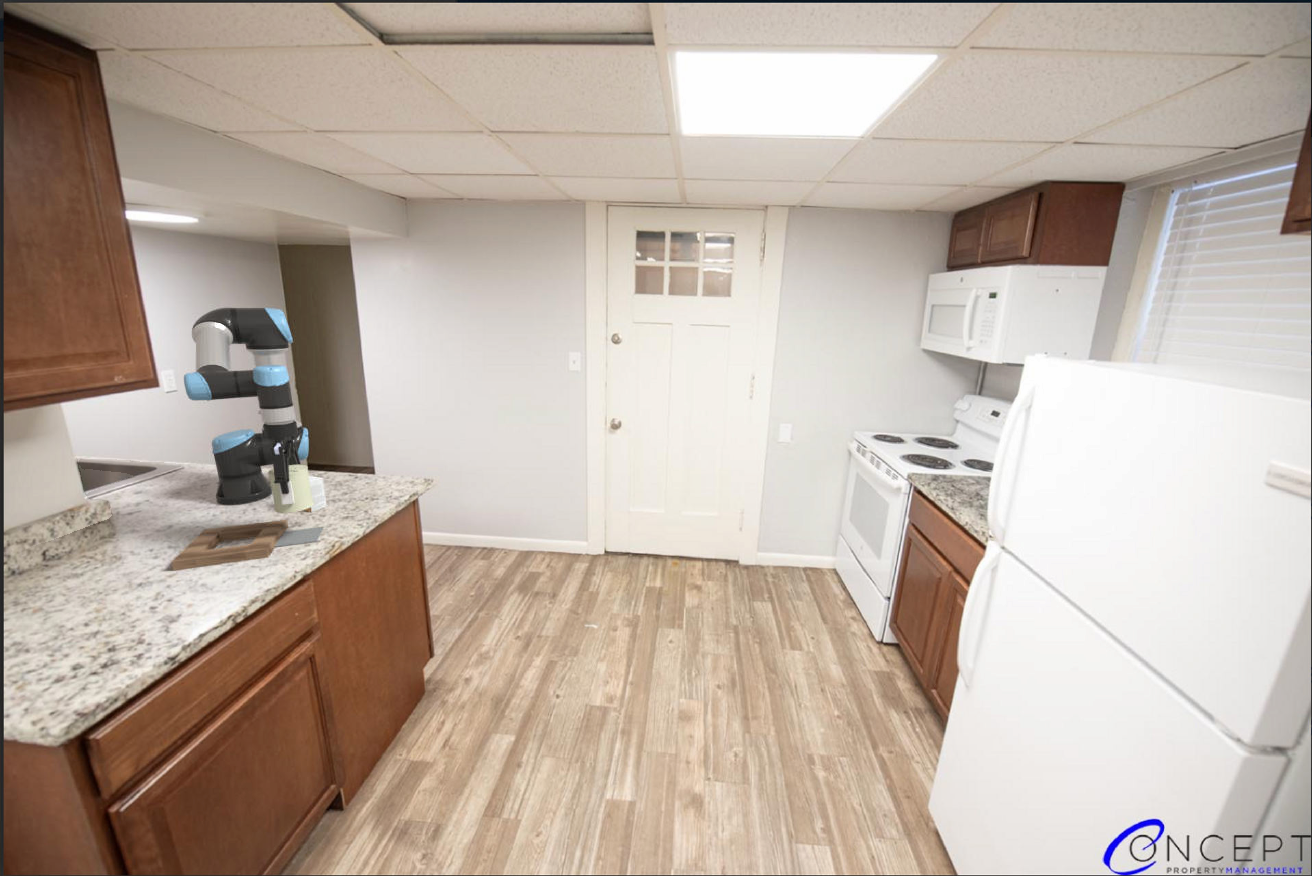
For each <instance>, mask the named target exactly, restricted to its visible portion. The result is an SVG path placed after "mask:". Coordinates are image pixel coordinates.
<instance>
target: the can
mask: <svg viewBox="0 0 1312 876" xmlns="http://www.w3.org/2000/svg"><path fill="white" fill-rule="evenodd" d="M267 474H268V477H269V484H270V486H271V489H272V497H273V503H274V511H275V512H276V513H278V514H292V513H293V514H294V513H298V512H302V511H305V509H308V508H310V507H312V506H313V505H314V502H313V499H312V494H311V488H310V482H309V476H310V475H309V471H308V466H307V465H305V464H301V465H289V481H291V484H292V490H293V495H294V501H295V503H293V504H284V505H282V499H281V494H280V489H279V483H274V481H275V476H274V468H272V469H270V470H269V471H268V472H267ZM308 475H309V476H308Z"/></svg>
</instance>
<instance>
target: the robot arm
mask: <svg viewBox="0 0 1312 876" xmlns="http://www.w3.org/2000/svg"><path fill="white" fill-rule="evenodd" d="M191 338H192V340H193V342H194V343H195V371H194V372H187V373H185V374H184V376H183V382H184V383H183V384H184V389H185V393H186V395H187V397H188V399H189V400H191V401H207V402H209V401H214V400H215V401H216V400H227V399H228V400H229V399H238V398H239V399H241V398H242V399H243V398H257V400H258V407H259V410H258V412H257V413H258V415H261V416H260V417H261V421H262V423H263V424H262V427H261V432H258V433H256V432H255V431H254V429H250V428H248V429H238V430H233V431H230V432H226V433H223V434H220V435H218V436H216V437H214V438H213V439H212V440H211V447H212V448H211V449H212V452H211V453H212V455H213V458H214V461H215V467H216V470H217V471H216V472H217V476H218V483H217V488H216V493H215V498H216V503H217V504H219V505H223V506H234V505H235V506H236V505H242V504H243V505H244V504H249V503H250V504H251V503H254V502H257V501H261V500H263V499H266V498H268V497H269V496H271V495H273V493H272V488H271V483H270V482H269V481H268V480H267V478H266V477H265V475H264V474H263V470H262V467H265V466H272V467H273V469H274V476H275V481H274V483H279V489H280V494H281V499H282V505H284V504H293V503H295V501H294V495H293V490H292V484H291V481H289V465H302V463H301V461H304V460H306V459H307V458H308V456H309V443H310V442H309V440H310V439H309V430H308V428H306V427H303V424H302V422H300V421H299V420H297V417H296V412H295V406H294V401H293V395H292V388H291V384H290V375H289V371H288V366H287V360H286V352H287V351H288V350H289V349H290V347H289V346H290V345H289V344H292V343H294V340H293V336H292V333H291V330H290V326H289V324H288V321H287V318H286V315H285V313H284V311H283V310H282V309H279V308H272V307H221V308H220V307H219V308H216V309H213V310H210V311H208V312H207V313H204V314H203V315H202V316H200V317H199V318H198V319H197V320H195V322H194V324H193V325H192V328H191ZM231 345H245V349H246V351H248V352H249V353H251V354H252V355H253V362H254V365H255V366H254V368H253V369H250V370H248V369H247V370H232V360H231V351H230V346H231Z"/></svg>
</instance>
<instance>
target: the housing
mask: <svg viewBox="0 0 1312 876" xmlns="http://www.w3.org/2000/svg"><path fill="white" fill-rule="evenodd" d="M288 529H289V524H288V520H287V519H282V520H281V519H280V520H275V521H274V520H273V521H266V522H265V521H263V522H256V523H249V524H239V525H231V526H223V527H214V528H206V529H204V530H202V531H201V532H200V533H199V534H198V535H196V537H195V538H194V539H193V540H192V541H190V543H189V544H188V545H187V546H186V547H185V548H184V549H183V550H182V551H181V552H180V553H179V554H178V555H176V557H175V558H174V559H173V560H172V561H171V565H172V566H171V567H172V571H175V572H176V571H182V570H188V569H190V570H191V569H195V568H196V569H197V568H203V567H208V566H217V565H223V564H231V563H238V562H245V561H251V560H252V561H253V560H258V559H266V558H269V557H270V556H271V554H272V552H273V551H274V549H276V547H275V545H276V543H277V542H278V540H279V539H280V537H281V536H282V534H283V533H284V531H288ZM252 538H254V540H253V541H252V542H251V543H250V544H242V545H235V546H228V547H221V548H219V547H218V548H216V547H217V546H218V545H219V544H220V543H222V542H230V541H238V540H245V539H246V540H247V539H252Z"/></svg>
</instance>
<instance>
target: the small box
mask: <svg viewBox="0 0 1312 876" xmlns="http://www.w3.org/2000/svg"><path fill="white" fill-rule="evenodd" d="M308 476H309V482H310V488H311V494H312V499H313V502H314V505H313V506H312V507H310V508H308V509H305V510H304V511H305V512H309V513H313V512H316V511H318V510H321V509H324V508H327V506H328V505H327V499H326V491H325V484H324V478H323V477H319V476H312V475H309V474H308Z"/></svg>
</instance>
